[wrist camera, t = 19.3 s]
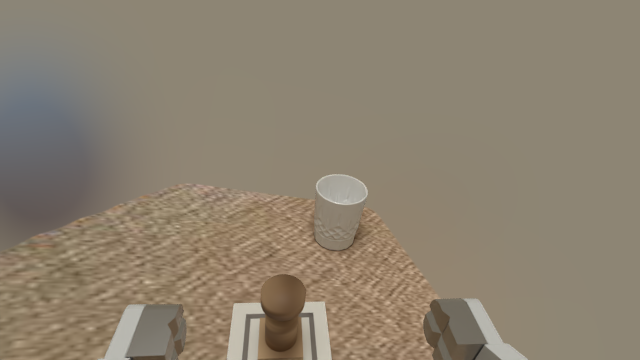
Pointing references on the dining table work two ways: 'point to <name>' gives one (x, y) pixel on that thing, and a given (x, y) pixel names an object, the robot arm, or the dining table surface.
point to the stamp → (281, 319)
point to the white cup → (338, 210)
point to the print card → (247, 331)
